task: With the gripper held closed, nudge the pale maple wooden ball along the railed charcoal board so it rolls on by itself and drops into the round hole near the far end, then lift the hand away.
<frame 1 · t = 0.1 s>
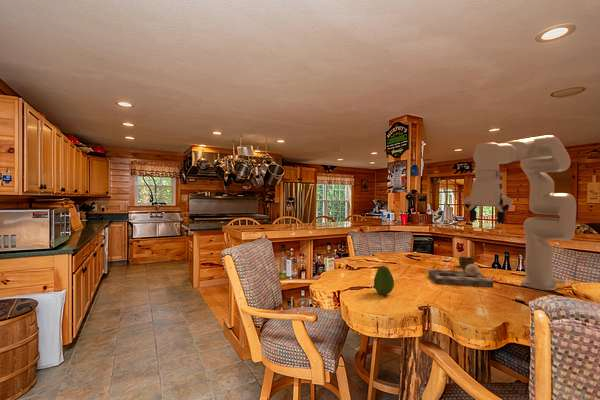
hand: (486, 221, 109), 31 cm above the table, tool pointing down, fingers open, 9 cm apart
cup: (466, 272, 156), on the table
maple ball: (472, 270, 139), point 5 cm above the table, touching track board
track board: (458, 281, 140), on the table
avocado: (383, 295, 120), on the table
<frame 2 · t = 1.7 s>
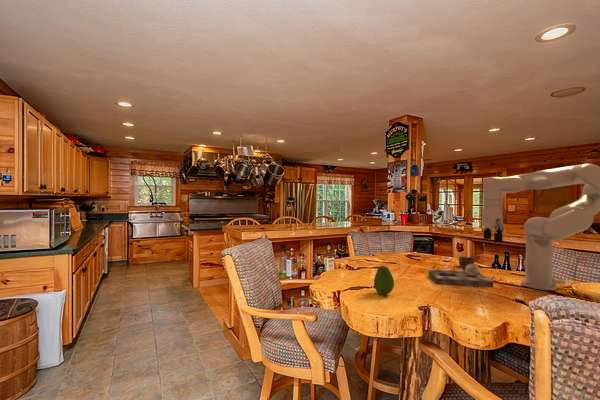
hand: (492, 240, 135), 20 cm above the table, tool pointing down, fingers open, 9 cm apart
nothing on the table moved.
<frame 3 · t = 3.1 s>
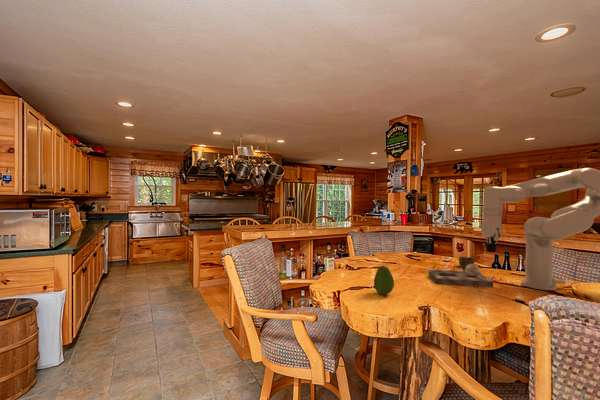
hand: (491, 251, 136), 15 cm above the table, tool pointing down, fingers closed
nothing on the table moved.
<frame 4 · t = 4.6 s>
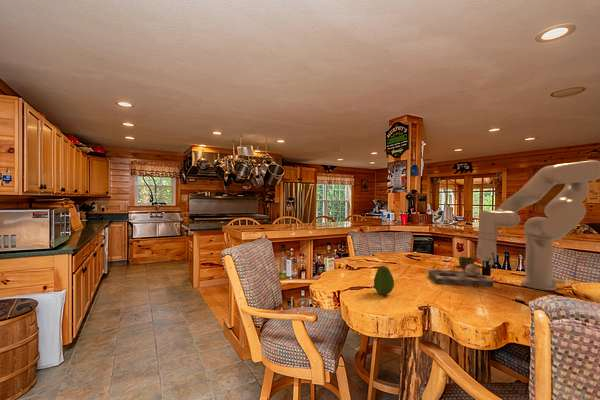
hand: (486, 275, 137), 4 cm above the table, tool pointing down, fingers closed
nothing on the table moved.
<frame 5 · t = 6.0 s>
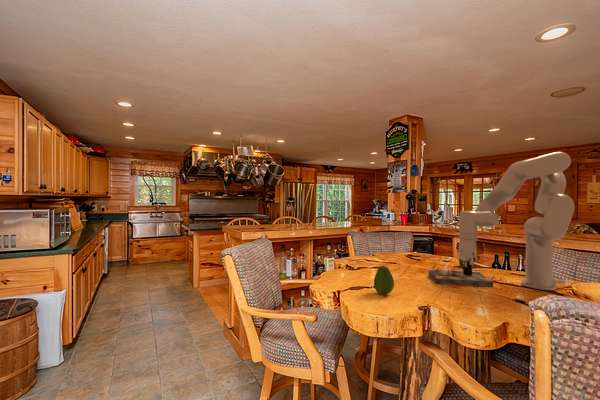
hand: (467, 275, 138), 3 cm above the table, tool pointing down, fingers closed
maple ball: (445, 274, 141), point 3 cm above the table, tilted 108°
everything else where it was.
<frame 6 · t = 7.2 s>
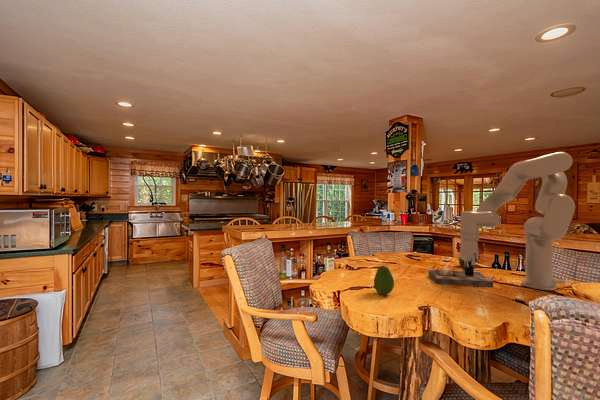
hand: (469, 275, 138), 3 cm above the table, tool pointing down, fingers closed
nothing on the table moved.
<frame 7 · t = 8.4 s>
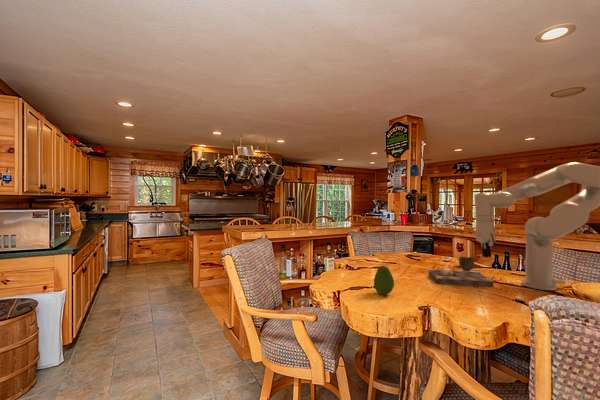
hand: (486, 256, 140), 12 cm above the table, tool pointing down, fingers closed
nothing on the table moved.
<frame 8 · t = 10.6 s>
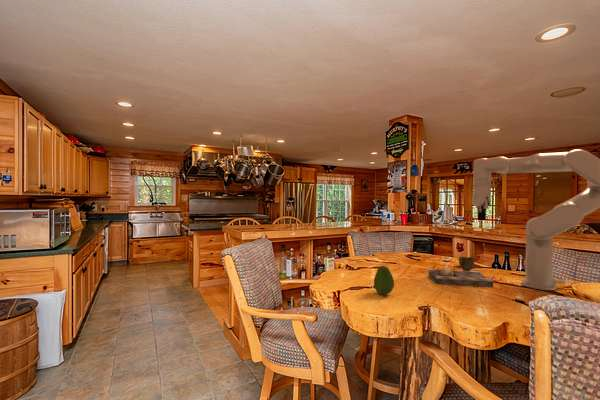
hand: (481, 220, 145), 29 cm above the table, tool pointing down, fingers closed
maple ball: (446, 274, 141), point 3 cm above the table, tilted 120°
everything else where it was.
at the end: maple ball 0.4 cm from the target spot on the track board, point 3.0 cm above the track board's base; maple ball moved 11.7 cm from its start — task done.
